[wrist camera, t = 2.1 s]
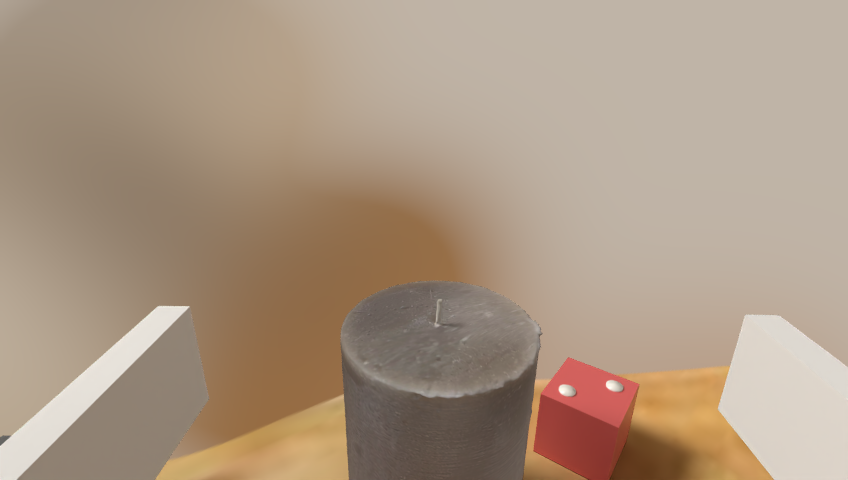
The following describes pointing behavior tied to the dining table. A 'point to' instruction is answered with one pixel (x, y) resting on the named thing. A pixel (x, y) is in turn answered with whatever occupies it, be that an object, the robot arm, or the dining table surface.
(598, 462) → the red die
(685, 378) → the dining table surface
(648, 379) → the dining table surface
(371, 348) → the pillar candle
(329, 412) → the dining table surface
